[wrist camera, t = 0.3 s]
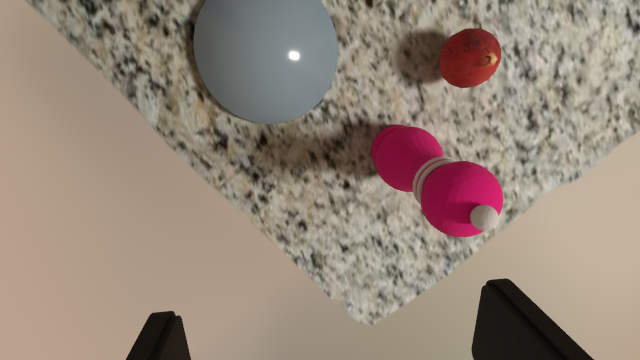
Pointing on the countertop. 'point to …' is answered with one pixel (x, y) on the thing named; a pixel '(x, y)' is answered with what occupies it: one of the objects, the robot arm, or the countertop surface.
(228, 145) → the countertop surface
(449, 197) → the pepper mill
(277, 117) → the dish
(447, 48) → the onion
